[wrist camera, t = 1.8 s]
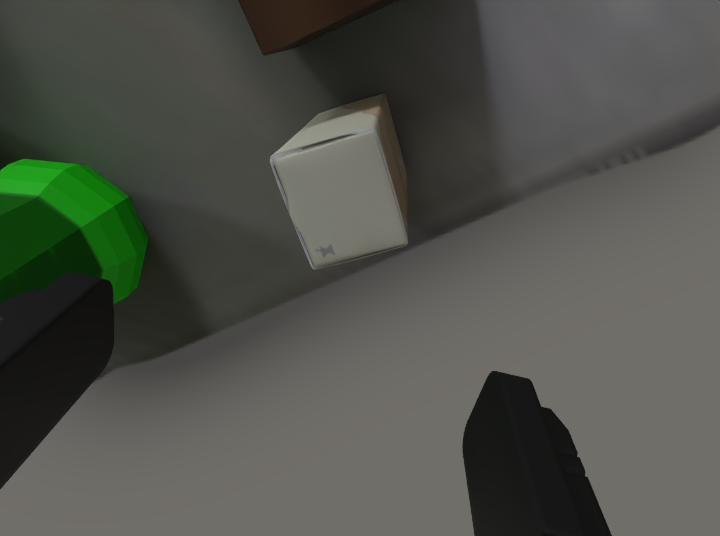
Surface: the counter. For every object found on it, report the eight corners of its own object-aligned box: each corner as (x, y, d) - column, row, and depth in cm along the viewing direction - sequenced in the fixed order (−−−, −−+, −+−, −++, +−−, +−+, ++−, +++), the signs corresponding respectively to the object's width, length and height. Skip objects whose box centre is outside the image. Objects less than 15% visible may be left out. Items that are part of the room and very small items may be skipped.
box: (408, 175, 29) (412, 254, 19) (340, 194, 30) (312, 278, 20) (384, 87, 27) (375, 124, 17) (312, 109, 28) (264, 158, 18)
